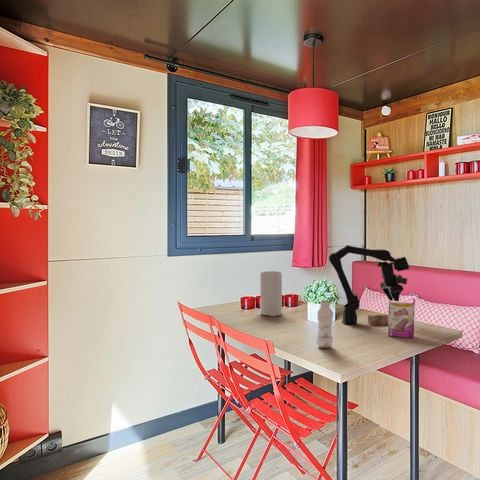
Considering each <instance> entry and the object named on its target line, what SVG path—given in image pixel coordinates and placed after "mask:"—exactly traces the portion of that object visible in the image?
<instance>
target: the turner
mask: <svg viewBox="0 0 480 480" xmlns="http://www.w3.org/2000/svg"><path fill="white" fill-rule="evenodd" d="M385 324H388V314H385V313H382V314H381V313H380V314H378V313H377V314H367V325H368V326H381V325H382V326H384V325H385Z"/></svg>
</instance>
